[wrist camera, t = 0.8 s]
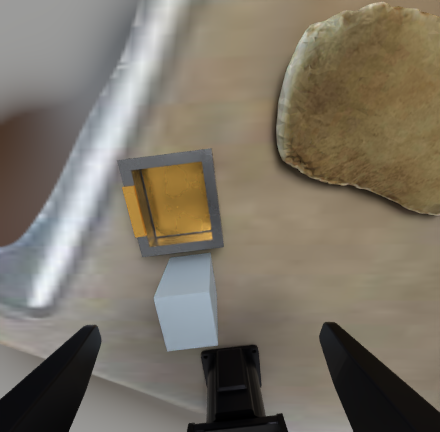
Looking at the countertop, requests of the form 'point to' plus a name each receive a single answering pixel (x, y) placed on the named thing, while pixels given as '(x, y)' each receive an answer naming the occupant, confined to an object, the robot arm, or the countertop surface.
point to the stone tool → (367, 104)
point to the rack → (173, 202)
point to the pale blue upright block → (188, 303)
